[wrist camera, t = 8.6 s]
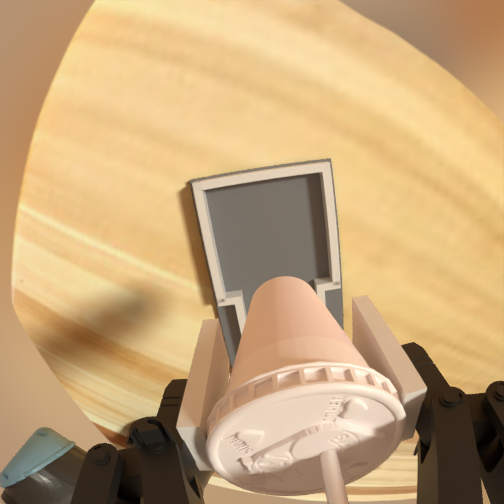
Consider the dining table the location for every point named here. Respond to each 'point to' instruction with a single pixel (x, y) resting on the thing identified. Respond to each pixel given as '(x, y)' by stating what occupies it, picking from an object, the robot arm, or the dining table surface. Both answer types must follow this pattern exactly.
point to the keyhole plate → (268, 236)
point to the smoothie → (300, 402)
